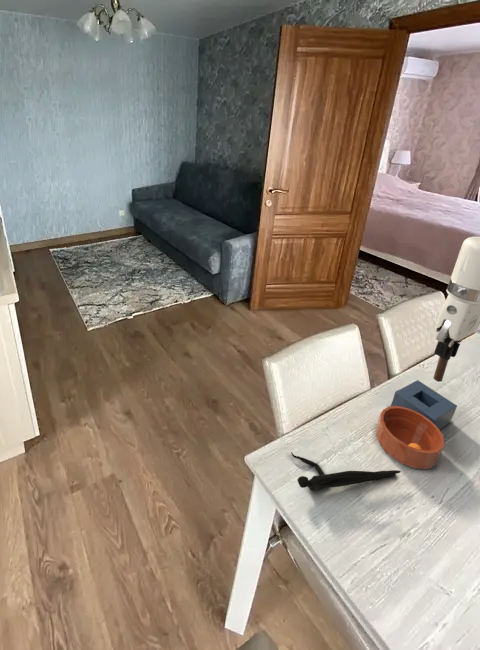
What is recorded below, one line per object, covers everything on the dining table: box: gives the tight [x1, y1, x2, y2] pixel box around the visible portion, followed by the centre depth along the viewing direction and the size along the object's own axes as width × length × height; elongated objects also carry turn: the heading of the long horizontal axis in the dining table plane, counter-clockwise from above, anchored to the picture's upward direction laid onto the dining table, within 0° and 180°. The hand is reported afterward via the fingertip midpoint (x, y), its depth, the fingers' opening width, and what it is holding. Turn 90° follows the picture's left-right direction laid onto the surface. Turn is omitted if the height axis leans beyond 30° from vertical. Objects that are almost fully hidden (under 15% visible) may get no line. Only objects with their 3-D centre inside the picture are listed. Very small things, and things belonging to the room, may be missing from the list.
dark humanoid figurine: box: [290, 451, 402, 491], centre depth 81 cm, size 8×9×25 cm
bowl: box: [375, 405, 445, 470], centre depth 87 cm, size 13×13×6 cm
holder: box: [390, 379, 458, 430], centre depth 95 cm, size 10×10×6 cm
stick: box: [433, 336, 451, 383], centre depth 86 cm, size 2×2×13 cm
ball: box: [408, 443, 422, 450], centre depth 84 cm, size 3×3×3 cm
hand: (444, 354), depth 86 cm, fingers closed on stick, 1 cm apart
